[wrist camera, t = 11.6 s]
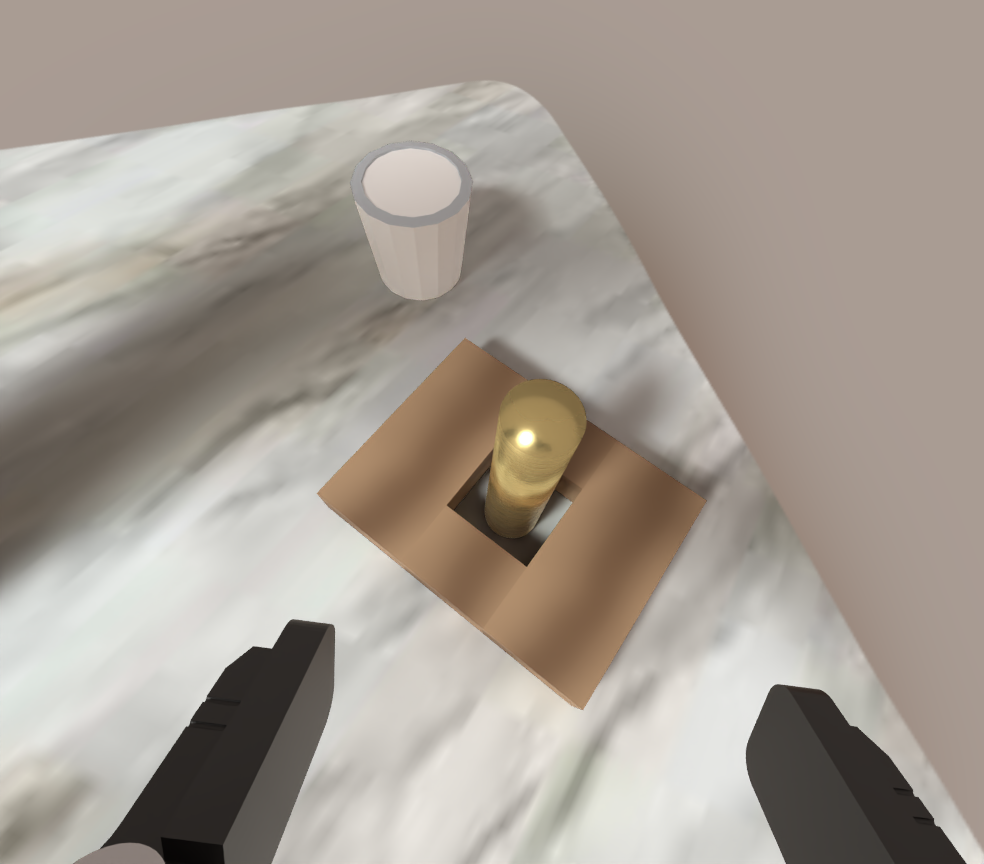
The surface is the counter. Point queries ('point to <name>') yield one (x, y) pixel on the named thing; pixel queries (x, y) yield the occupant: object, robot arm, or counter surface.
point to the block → (485, 565)
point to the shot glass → (414, 215)
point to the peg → (531, 453)
